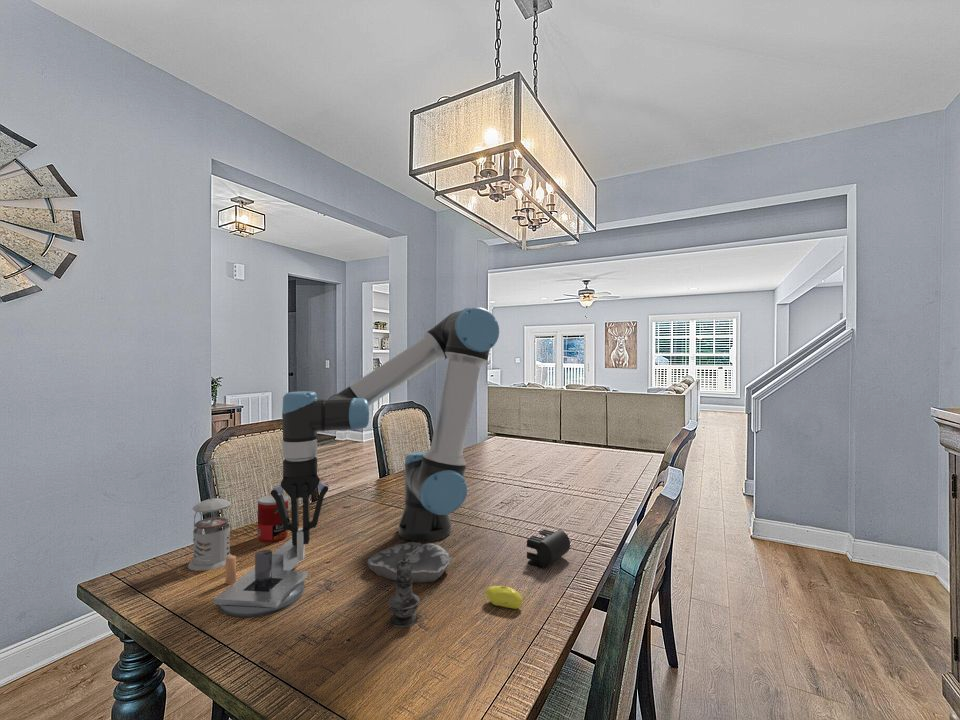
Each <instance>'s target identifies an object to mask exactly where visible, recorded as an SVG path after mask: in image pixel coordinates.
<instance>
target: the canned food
mask: <svg viewBox="0 0 960 720" xmlns="http://www.w3.org/2000/svg"><path fill="white" fill-rule="evenodd" d="M282 495H283V498H284V502H285V505H286V509H287V512H288V513H289V507H290V506H289V504H290V503H289V495H285V494H282ZM288 535H289V530H284V529H283V526H282V522H281V518H280V515H279V511H278V508H277V504H276V501H275V499H274V498H273V497H272V495H271V494H269V495H265V496H262V497H259V498H258V499H257V540H258V541H259V542H260V543H265V544H266V543H267V544H271V543H277V542H280V541H283V540H285V539H286V538H288Z"/></svg>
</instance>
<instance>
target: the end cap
mask: <svg viewBox="0 0 960 720" xmlns="http://www.w3.org/2000/svg"><path fill="white" fill-rule="evenodd" d="M538 534H539V535H541V536H544V537H540V536H537V535H536V536H535V535H532V536H531V537H529V538H527V539H526V547H527V548H529V549H533V550H535V551H536V553H533V552H530V551H526V559H528V561H527V565H528V566H531V567H534V568H538V569H540V570H544V569H546V568H548V567H549V566H550V565H552V564H553V563H555V562H556V561H557V560H559V559H560V558H562V557H563V556H565V554H566V553H568V552H569V551H570V548H571V540H570V538H569V536H568V534H567V533H566V532H565V531H563V530H561V529H558V530H557V531H552V530H548V529H542V530H540V531H539V533H538Z"/></svg>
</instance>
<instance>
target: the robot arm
mask: <svg viewBox="0 0 960 720" xmlns="http://www.w3.org/2000/svg"><path fill="white" fill-rule="evenodd" d="M499 336H500V327H499V322H498V320H497V319H496V317H495V315H494V314H493V313H492V312H491V311H490V310H488V309H486V308H483V307H480V306H479V307H478V306H471V307H470V306H469V307H466V308H464V309H461V310H458V311H454V312H453V313H450V314H449V315H447V316H446V317H444V318H443V319H442V320H441V321H440V322H439V323H438V324H435V326H433V327H432V328H430V329H429V330H428V331H426V332H425V333H424V335H423V338H421V339H420V340H418V341H417V342H415V343H414V344H412V345H411V346H410V347H408V348H406V349H404V350H403V351H402V352H400V353H399V354H397V355H396V356H394V357H392V358H391V359H388V360H387V361H386V362H384V363H383V364H382V365H379V366H378V367H377V368H375V369H373V370H372V371H371V372H369V373H367V374H366V375H364V376H363V377H362V378H361V377H360V379H358V380H356V381H355V382H353V383H352V384H351V385H349V386H347V387H346V388H344V389H343V390H341V391H339V392H338V393H334V394H332V395H331V396H330V397H328V398H327V399H321V398H320V399H319V398H318V394H317V392H315V391H301V390H300V391H290V392H286V393H285V394H284V395H283V396H282V410H281V413H282V414H281V415H282V416H281V417H282V423H281V424H282V457H283V458H284V459H283V460H282V480H281V481H280V484H279V485H277V487H273V489H271V491H270V495H272V497H273V498H274V499H275V501H276V504H277V508H278V511H279V515H280V518H281V522H282V526H283V529H284V530H288V531H290V532H291V539H292V544H293V545H297V561H298V560H301V561H304V559H305V556H306V545H308V544H309V543H310V539H311V537H310V534H311V533H310V530H311V529H315V528H316V527H317V525H318V522H319V519H320V513H321V510H322V507H323V503H324V502H323V501H324V497H325V496H326V494H327V493H328V492H329V488H330V485H329V484H328V483H326V484H325V483H324V482H322V481H321V479H320V477H319V475H318V458H317V457H316V456H317V455H318V432H324V431H327V432H328V431H345V430H352V431H355V430H358V429H365V428H367V427H368V426H369V422H370V406H371V405H372V404H374V403H376V402H377V401H379V400H380V399H381V398H384V397H385V396H386V395H387V394H389V393H391V392H392V391H394V390H395V389H396V388H398V387H400V386H402V384H404V383H405V382H407V381H409V380H410V379H411V378H414V377H415V376H417V375H418V374H420V373H421V372H422V371H424V370H425V369H427V368H428V367H430V366H431V365H433V364H434V363H436V362H437V361H446V359H448V364H447V368H446V373H445V379H444V382H443V387H442V393H441V396H440V397H441V398H440V401H439V406H438V411H437V416H436V421H435V424H434V425H435V426H434V430H433V434H432V439H431V440H432V441H431V444H430V447H429V448H430V449H429V450H428V451H417V452H410V453H407V454H406V456H405V461H404V507H403V511H402V513H401V516H400V517H401V518H400V520H399V523H398V535H399V537H400V538H402V539H403V540H407V541H409V542H418V543H424V542H426V543H428V542H433V541H434V542H435V541H439V540H442V539H445V538H447V537H448V536H449V535H450V534H451V532H452V522H451V519H450V516H449V514H452V513H454V512H455V511H457V510H459V508H461V507H462V505H463V504H464V502H465V501H466V498H467V494H468V485H467V482H466V479H465V478H464V477H465V472H466V469H467V462H466V460H465V458H464V456H463V454H464V447H465V443H466V439H467V433H468V429H469V426H470V425H469V424H470V418H471V414H472V409H473V404H474V399H475V395H476V389H477V385H478V380H479V374H480V369H481V367H482V366H483V365H485V364H486V363H488V359H489V355H490V350H491V349H492V348H493V347H495V345H496V344H497V342H498V340H499V338H500V337H499ZM316 488H317V492H318V496H317V500H316V504H315V508H314V512H313V516H312V520H311V513H310V512H311V511H310V510H311V505H310V502H311V495H312V494H313V493H314V491H315V490H316ZM284 492H285V494H287V496H288V497H289V498H290V505H291V506H290V510H291V512H290V513H291V514H290V515H291V516H290V517H291V520H290V517H289V511H288V512H287V509H286V505H285V502H284V498H283V495H284ZM300 498H301V499H302V527H301V528H300V527H299V526H300V524H299V523H300V518H299V517H300V516H299V514H300V513H299V499H300Z"/></svg>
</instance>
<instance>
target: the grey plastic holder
mask: <svg viewBox="0 0 960 720" xmlns="http://www.w3.org/2000/svg"><path fill="white" fill-rule="evenodd" d="M301 561H302V560H298V561H297V545H293V544H292V538H290V539H288V540H287V541H286V542H285V543H283V544H282V545H281V546H280V547H278V549H276V550H275V551H272V583H278V584H277V585H276V586H275V587H273V588H272V589H271V590H270V591H269V592H262V591H248V590H249V589H251V588H252V587H253V586H254V585H255V568H250V570H249V571H248V572H246V573H245V574H243V575H242V576H241V577H240V578H238V579H236V582H235V583H233V584H230V586H228V587H227V588H226V589H223V591H222V592H220V593H219V594H217V596H216V597H214V598H213V599H212V600H213V601H212V604H213V605H219V604H220V605H237V606H255V607H273V608H277V607H278V605H279V604H280V603H281V602H282V601H283V600H284V599H285V598H286V597H287V596H288V595H289V594H290V593H291V592H292V591H293V590H294V589H295V588H296V587H297V586H298V585H299V584H300V583H301V582H302V581H305V579H306V578H307V577H308V570H307V571H303V570H293V569H294V568H295V567H296V566H298V565H299V563H300V562H301Z"/></svg>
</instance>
